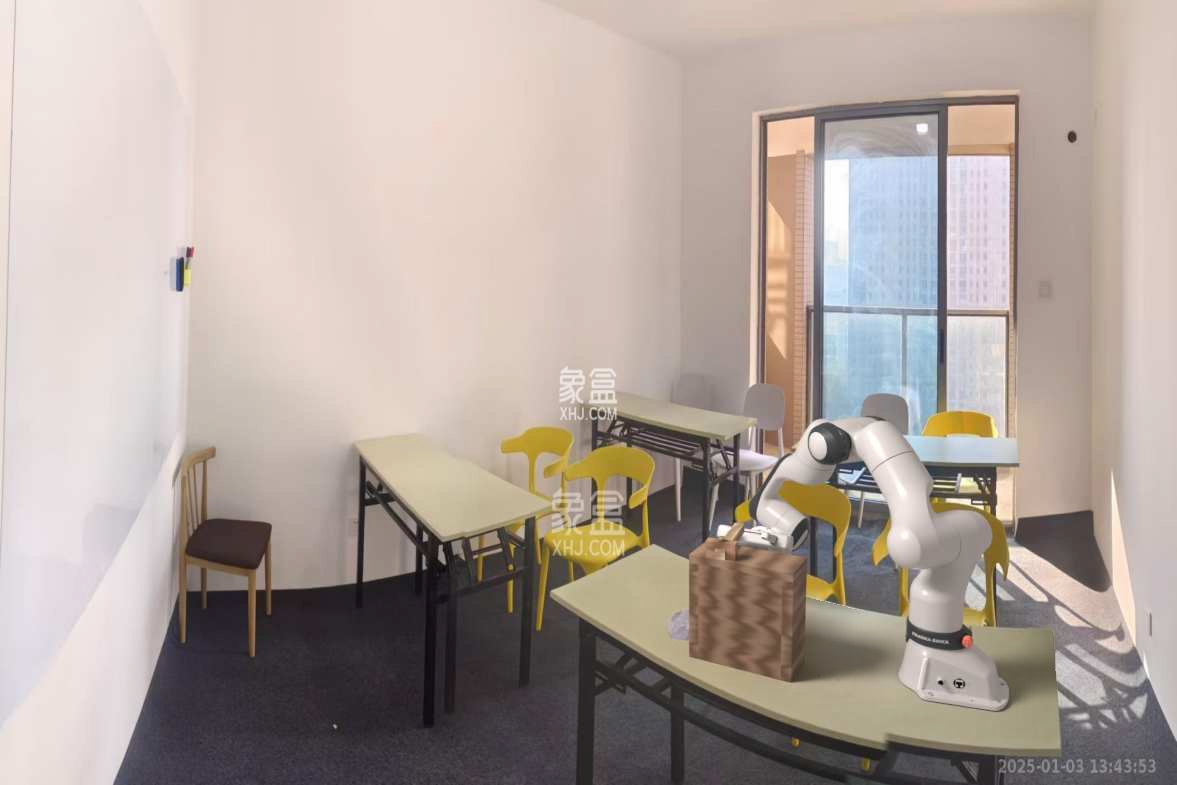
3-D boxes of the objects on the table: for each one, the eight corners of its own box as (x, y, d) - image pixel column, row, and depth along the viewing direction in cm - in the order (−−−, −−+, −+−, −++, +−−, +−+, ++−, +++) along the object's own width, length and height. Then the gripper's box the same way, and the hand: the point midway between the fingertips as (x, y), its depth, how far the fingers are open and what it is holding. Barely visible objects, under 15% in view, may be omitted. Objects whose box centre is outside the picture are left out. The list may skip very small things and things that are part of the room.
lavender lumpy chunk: (667, 646, 199) (706, 643, 196) (664, 628, 199) (702, 624, 196) (675, 627, 211) (712, 623, 208) (672, 609, 210) (708, 606, 207)
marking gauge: (753, 533, 199) (753, 514, 198) (734, 561, 181) (734, 540, 180) (726, 530, 202) (726, 511, 201) (705, 557, 184) (705, 537, 183)
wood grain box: (804, 661, 186) (807, 557, 182) (790, 682, 177) (793, 573, 173) (706, 637, 199) (706, 540, 195) (689, 656, 190) (689, 554, 186)
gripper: (727, 525, 222) (712, 514, 211) (799, 537, 212) (787, 526, 200) (723, 547, 220) (707, 537, 209) (795, 560, 210) (782, 551, 199)
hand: (747, 532), depth 205 cm, fingers open, 8 cm apart
